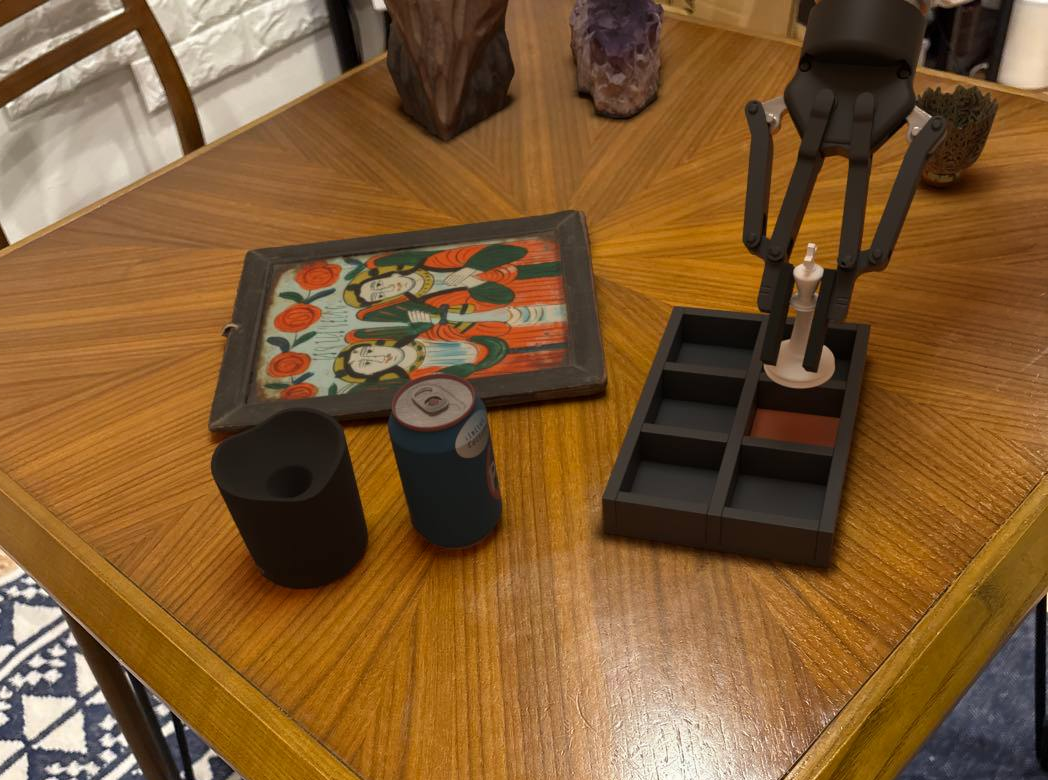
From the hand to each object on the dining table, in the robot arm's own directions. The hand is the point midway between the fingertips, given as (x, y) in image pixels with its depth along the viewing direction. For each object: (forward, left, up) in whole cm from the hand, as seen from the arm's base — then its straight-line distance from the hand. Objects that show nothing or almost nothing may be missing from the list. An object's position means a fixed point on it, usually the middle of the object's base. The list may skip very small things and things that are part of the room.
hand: (788, 365), depth 75 cm
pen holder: (+32, +14, -11) cm, 37 cm away
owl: (+46, -54, -11) cm, 72 cm away
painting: (+35, -14, -11) cm, 40 cm away
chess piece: (0, -4, -3) cm, 5 cm away
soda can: (+22, +9, -11) cm, 27 cm away
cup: (-9, -45, -11) cm, 47 cm away
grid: (+3, -4, -11) cm, 12 cm away
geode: (+28, -64, -11) cm, 71 cm away
